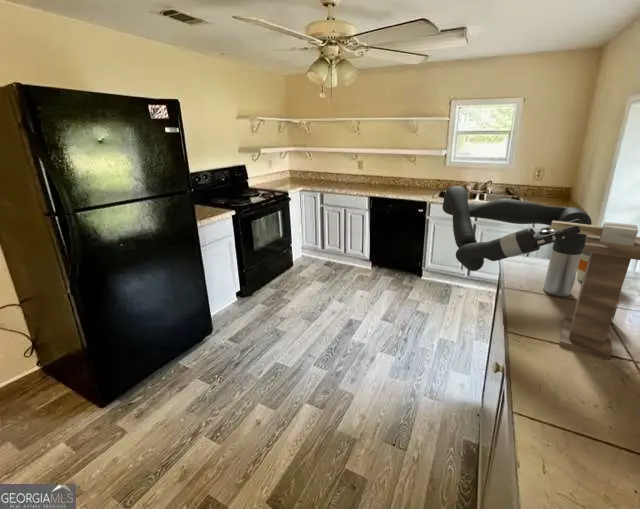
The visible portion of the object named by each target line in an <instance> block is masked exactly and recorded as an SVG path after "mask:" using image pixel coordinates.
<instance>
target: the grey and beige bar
mask: <svg viewBox="0 0 640 509" xmlns="http://www.w3.org/2000/svg"><path fill="white" fill-rule="evenodd" d="M575 225H578V226H579V229H580V233H577V234H585V235H592V236H600V242H606V243H613V244H620V245H627V246H634V243H635V240H636V237H638V232H639V228H638V225H637V224H631V223H630V224H629V223H620V222H613V221H612V222H611V221H603V225H596V224H595V225H594V224H591V225H587V224H578V223H570V222H561V221H552V224H551V228H550V230H552V229H555V230H562V229H565V228H568V227H572V226H575ZM562 231H563V230H562Z"/></svg>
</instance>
